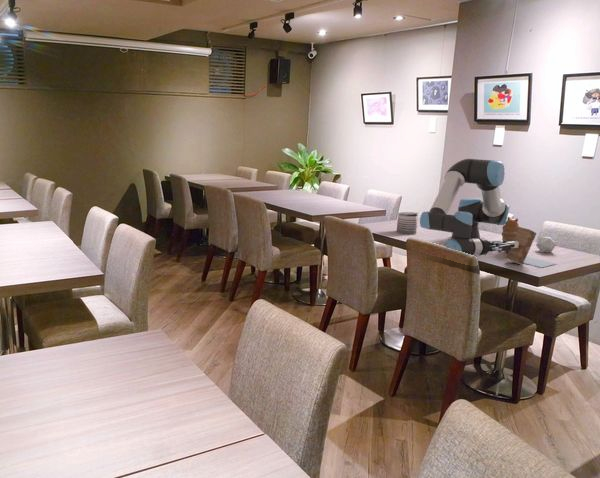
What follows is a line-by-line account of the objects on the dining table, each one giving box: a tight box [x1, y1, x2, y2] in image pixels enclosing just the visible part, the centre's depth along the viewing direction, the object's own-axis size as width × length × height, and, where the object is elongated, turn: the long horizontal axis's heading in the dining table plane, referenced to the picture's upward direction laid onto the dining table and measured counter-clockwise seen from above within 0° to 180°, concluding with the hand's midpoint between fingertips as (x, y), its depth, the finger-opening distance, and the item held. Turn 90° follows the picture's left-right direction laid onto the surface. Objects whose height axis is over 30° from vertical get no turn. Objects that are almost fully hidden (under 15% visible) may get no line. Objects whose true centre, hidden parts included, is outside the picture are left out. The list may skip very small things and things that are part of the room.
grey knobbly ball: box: [535, 236, 557, 254], centre depth 266 cm, size 8×9×10 cm
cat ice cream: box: [501, 216, 520, 254], centre depth 258 cm, size 9×8×18 cm
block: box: [505, 226, 538, 266], centre depth 237 cm, size 5×6×16 cm
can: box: [396, 211, 419, 236], centre depth 295 cm, size 11×11×12 cm
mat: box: [505, 255, 557, 269], centre depth 244 cm, size 18×14×1 cm
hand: (517, 244), depth 235 cm, fingers closed
